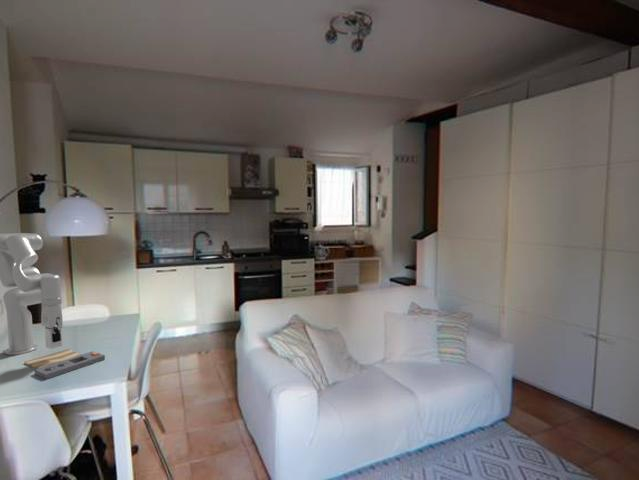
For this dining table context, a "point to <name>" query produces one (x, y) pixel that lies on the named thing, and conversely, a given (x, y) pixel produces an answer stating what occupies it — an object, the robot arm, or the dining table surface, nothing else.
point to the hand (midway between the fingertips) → (53, 340)
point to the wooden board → (51, 358)
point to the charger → (49, 339)
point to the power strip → (69, 365)
